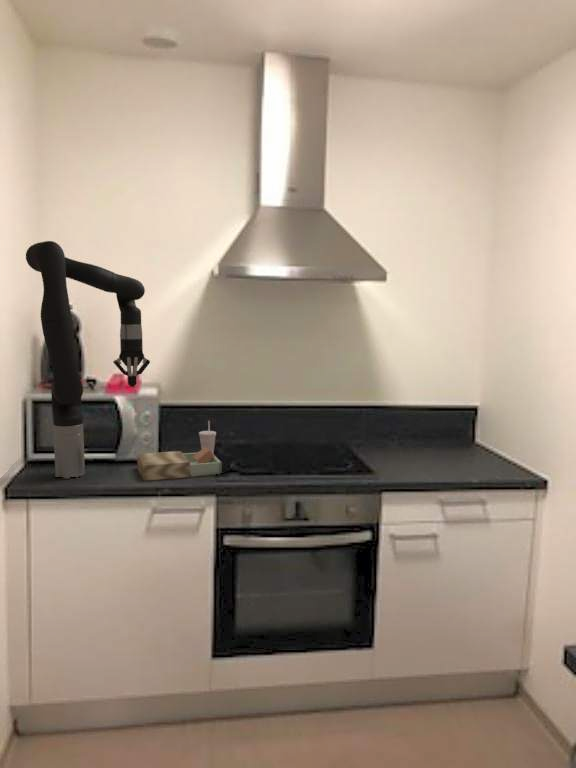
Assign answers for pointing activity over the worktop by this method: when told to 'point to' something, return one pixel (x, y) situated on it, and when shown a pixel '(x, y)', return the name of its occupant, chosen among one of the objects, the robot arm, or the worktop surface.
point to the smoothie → (207, 438)
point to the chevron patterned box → (163, 465)
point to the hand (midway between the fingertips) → (132, 386)
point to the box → (203, 466)
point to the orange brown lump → (203, 456)
